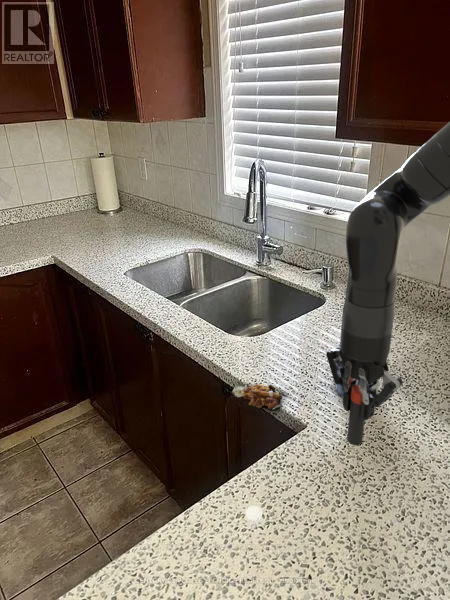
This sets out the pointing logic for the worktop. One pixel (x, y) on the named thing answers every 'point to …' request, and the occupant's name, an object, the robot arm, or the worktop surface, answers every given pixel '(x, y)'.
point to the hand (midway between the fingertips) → (357, 412)
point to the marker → (355, 417)
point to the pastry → (260, 395)
